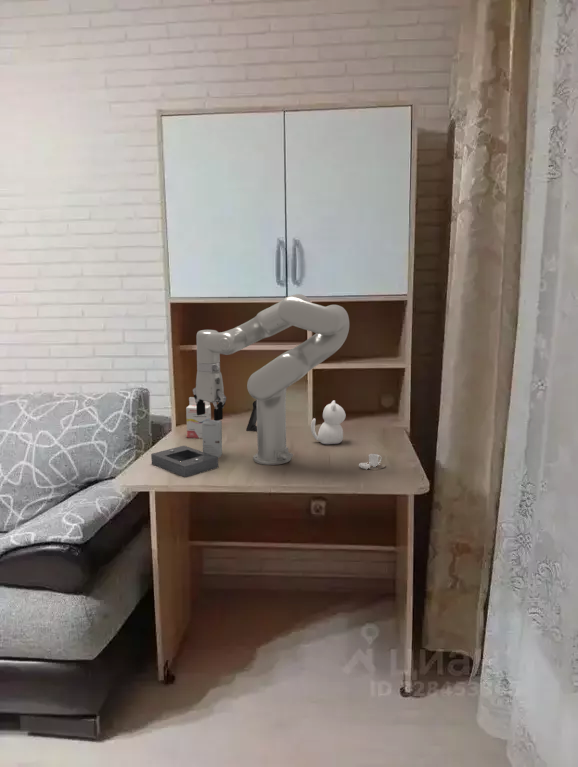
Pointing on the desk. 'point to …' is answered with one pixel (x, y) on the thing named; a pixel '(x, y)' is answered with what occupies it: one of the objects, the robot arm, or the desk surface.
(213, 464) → the grey rectangular frame
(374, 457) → the teacup and saucer
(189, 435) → the ink cartridge box
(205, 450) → the skincare box
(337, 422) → the cat figurine
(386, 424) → the desk surface
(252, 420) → the phone stand
